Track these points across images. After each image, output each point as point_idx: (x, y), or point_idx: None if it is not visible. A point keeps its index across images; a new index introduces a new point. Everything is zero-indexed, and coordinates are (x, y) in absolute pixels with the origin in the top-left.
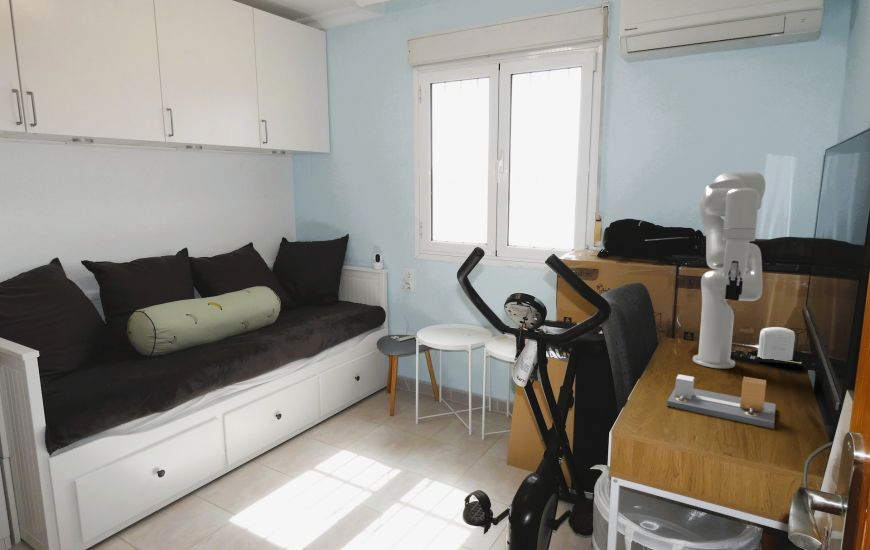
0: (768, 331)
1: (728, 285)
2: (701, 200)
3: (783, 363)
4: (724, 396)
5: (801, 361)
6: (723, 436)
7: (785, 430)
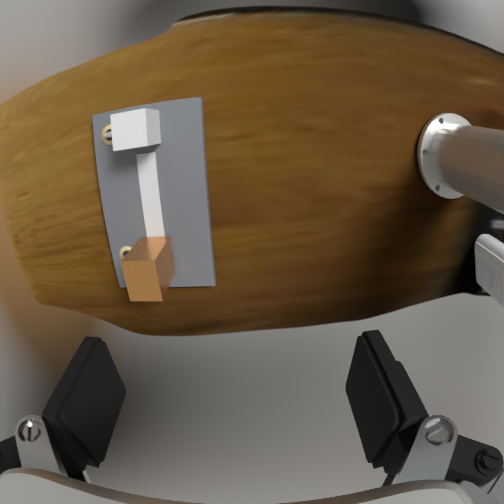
0: None
1: (53, 420)
2: None
3: None
4: (192, 201)
5: None
6: (49, 226)
7: None
